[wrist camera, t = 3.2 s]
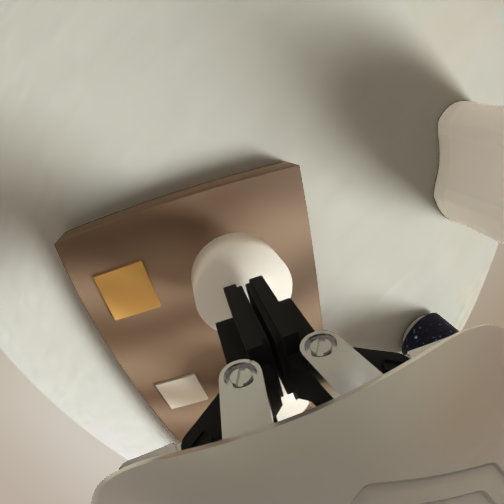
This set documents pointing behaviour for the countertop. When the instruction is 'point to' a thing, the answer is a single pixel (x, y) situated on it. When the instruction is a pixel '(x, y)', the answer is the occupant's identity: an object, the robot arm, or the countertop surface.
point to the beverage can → (426, 331)
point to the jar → (472, 167)
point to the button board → (183, 280)
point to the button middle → (290, 405)
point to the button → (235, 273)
